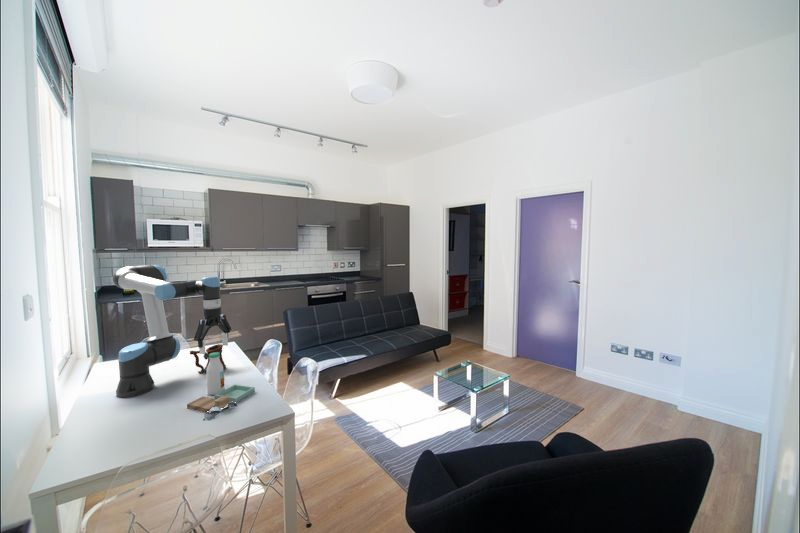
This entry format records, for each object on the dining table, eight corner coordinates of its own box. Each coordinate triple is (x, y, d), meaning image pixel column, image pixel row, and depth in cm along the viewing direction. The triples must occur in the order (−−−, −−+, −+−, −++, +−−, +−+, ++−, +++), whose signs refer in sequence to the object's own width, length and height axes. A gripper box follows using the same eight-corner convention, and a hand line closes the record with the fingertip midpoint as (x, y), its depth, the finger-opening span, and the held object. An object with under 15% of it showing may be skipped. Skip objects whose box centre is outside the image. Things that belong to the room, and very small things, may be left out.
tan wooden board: (187, 409, 145) (186, 404, 144) (203, 401, 152) (202, 396, 152) (209, 414, 140) (209, 409, 140) (225, 406, 148) (225, 400, 147)
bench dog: (214, 411, 142) (214, 400, 142) (223, 406, 147) (223, 395, 146) (220, 412, 141) (219, 401, 141) (229, 406, 146) (228, 396, 146)
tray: (214, 400, 152) (214, 395, 152) (234, 389, 164) (234, 384, 164) (235, 403, 149) (235, 398, 149) (254, 392, 161) (254, 387, 161)
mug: (192, 378, 177) (190, 352, 176) (189, 372, 186) (188, 347, 185) (228, 370, 189) (227, 346, 188) (224, 365, 197) (223, 341, 197)
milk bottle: (216, 396, 156) (215, 356, 155) (203, 394, 158) (201, 355, 157) (228, 389, 164) (226, 351, 163) (215, 388, 166) (213, 350, 164)
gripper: (195, 312, 145) (198, 358, 146) (237, 303, 169) (239, 342, 170) (183, 312, 147) (185, 356, 149) (226, 303, 171) (228, 341, 172)
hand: (214, 349), depth 159 cm, fingers open, 13 cm apart
